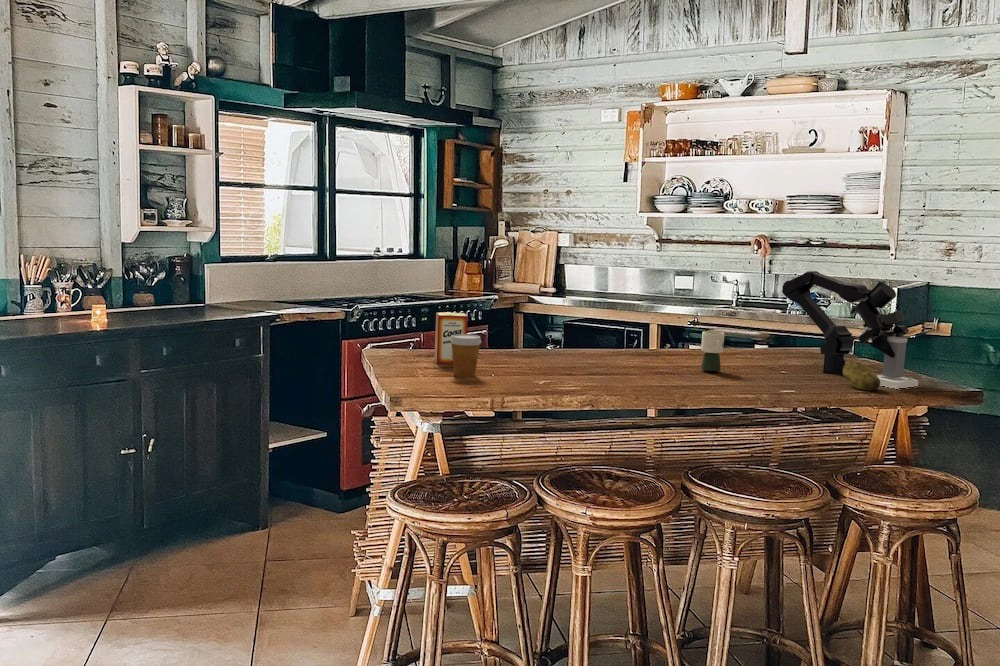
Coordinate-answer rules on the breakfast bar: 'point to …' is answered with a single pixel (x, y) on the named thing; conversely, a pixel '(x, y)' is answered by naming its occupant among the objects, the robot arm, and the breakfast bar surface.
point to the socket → (897, 382)
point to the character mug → (712, 350)
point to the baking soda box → (448, 334)
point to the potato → (860, 376)
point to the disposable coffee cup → (465, 354)
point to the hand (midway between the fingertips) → (898, 356)
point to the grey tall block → (896, 364)
